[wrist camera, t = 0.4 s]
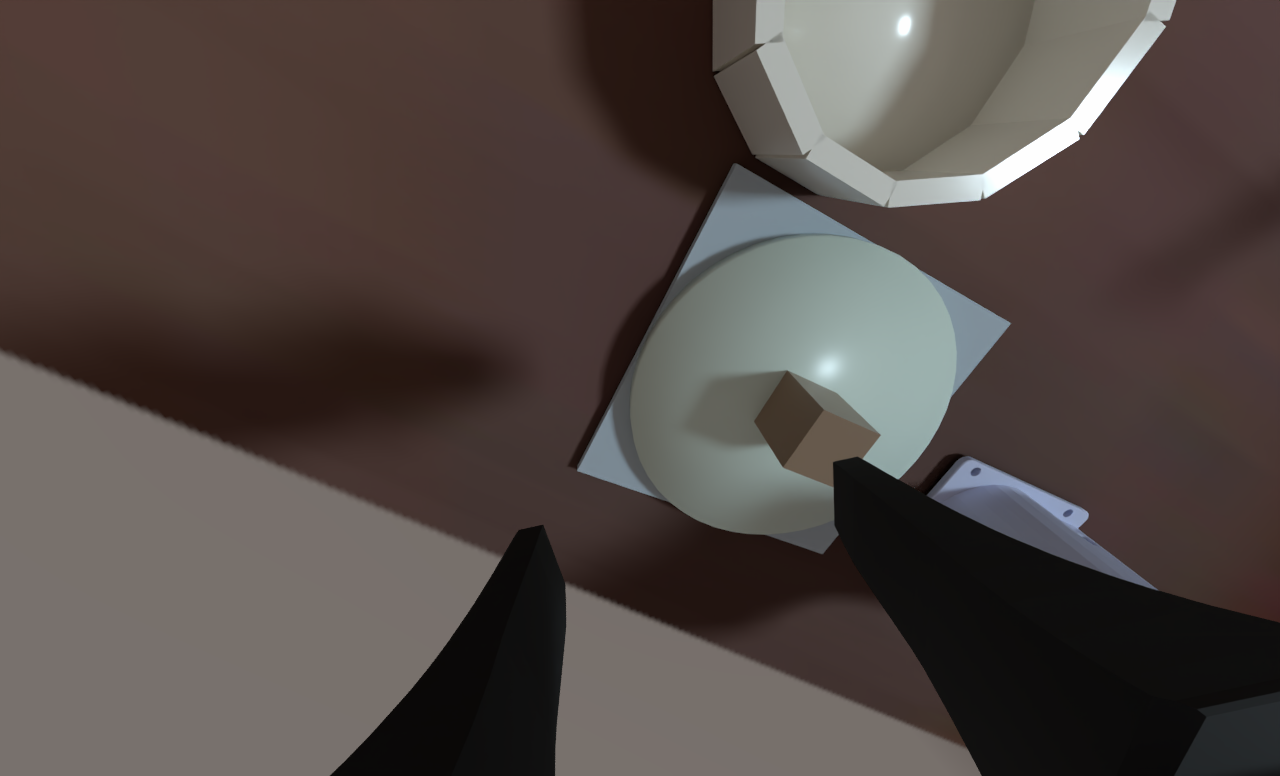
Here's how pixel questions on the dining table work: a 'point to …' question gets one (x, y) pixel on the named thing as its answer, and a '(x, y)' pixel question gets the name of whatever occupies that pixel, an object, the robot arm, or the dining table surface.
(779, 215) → the mat
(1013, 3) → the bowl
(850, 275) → the lid
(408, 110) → the dining table surface
